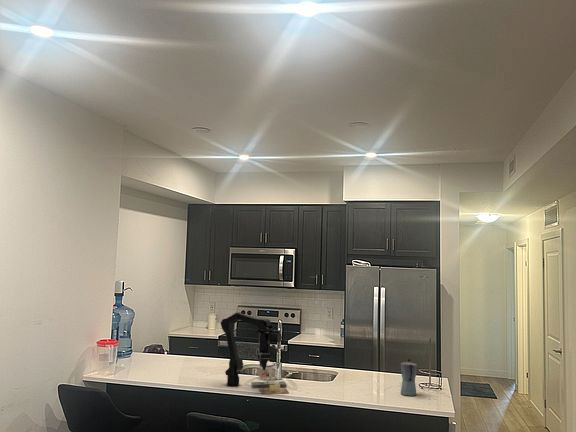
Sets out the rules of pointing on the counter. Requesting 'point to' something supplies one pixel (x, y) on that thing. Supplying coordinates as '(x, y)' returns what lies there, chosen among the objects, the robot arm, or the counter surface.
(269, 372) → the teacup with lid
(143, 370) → the counter surface
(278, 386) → the lever cap
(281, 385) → the plane body
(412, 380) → the moka pot
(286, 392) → the walnut board
